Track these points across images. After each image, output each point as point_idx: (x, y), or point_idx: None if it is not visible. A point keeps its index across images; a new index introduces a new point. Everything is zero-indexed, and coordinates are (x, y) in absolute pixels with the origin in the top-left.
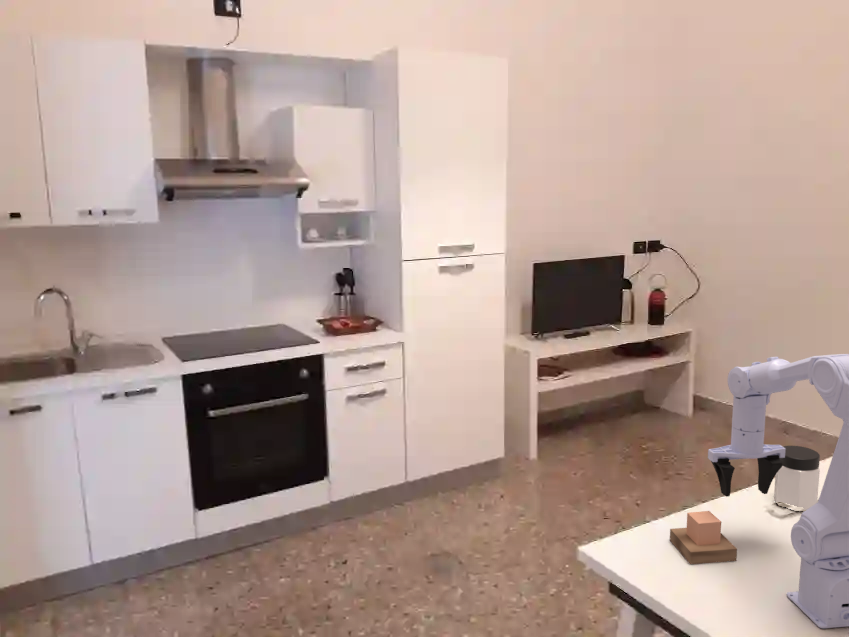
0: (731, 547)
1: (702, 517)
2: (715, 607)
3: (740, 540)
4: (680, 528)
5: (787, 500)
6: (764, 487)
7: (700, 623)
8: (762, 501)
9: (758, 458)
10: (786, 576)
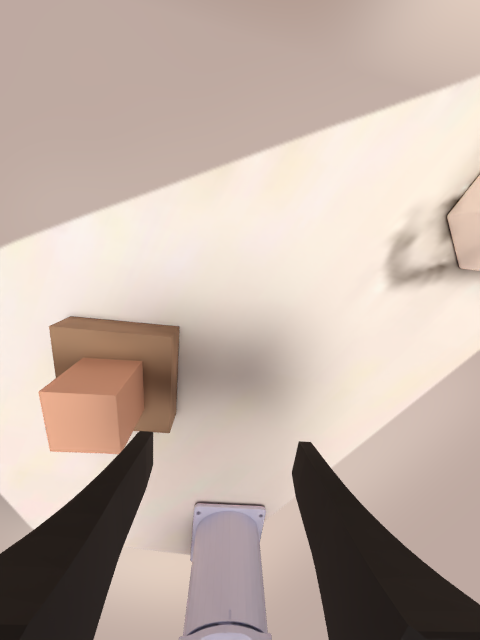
0: (160, 426)
1: (75, 425)
2: None
3: (231, 351)
4: (77, 330)
5: (475, 242)
6: (299, 498)
7: (35, 527)
8: (433, 179)
9: (385, 610)
10: (232, 464)
